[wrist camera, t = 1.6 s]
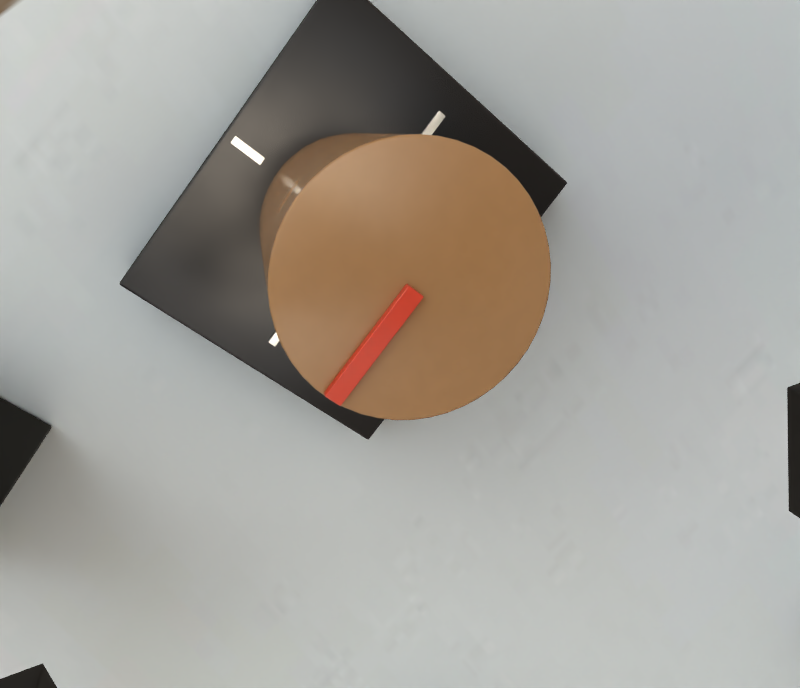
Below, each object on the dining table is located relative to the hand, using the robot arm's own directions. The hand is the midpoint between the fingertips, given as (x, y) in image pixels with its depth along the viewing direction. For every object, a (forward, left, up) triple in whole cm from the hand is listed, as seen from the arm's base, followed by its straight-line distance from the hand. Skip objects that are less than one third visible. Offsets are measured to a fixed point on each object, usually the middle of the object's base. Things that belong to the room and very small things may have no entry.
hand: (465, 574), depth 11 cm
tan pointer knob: (-3, -2, -19) cm, 20 cm away
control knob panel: (-3, -2, -22) cm, 22 cm away
